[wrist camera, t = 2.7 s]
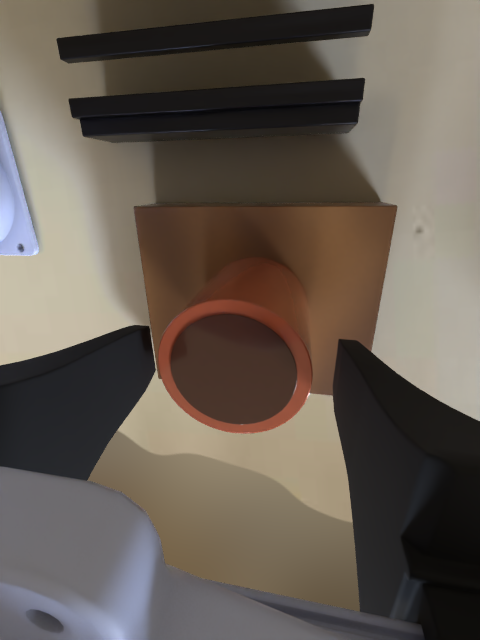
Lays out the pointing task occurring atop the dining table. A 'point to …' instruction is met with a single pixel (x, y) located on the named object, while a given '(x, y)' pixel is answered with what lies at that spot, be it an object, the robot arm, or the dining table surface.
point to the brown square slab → (278, 245)
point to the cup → (241, 349)
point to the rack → (222, 103)
